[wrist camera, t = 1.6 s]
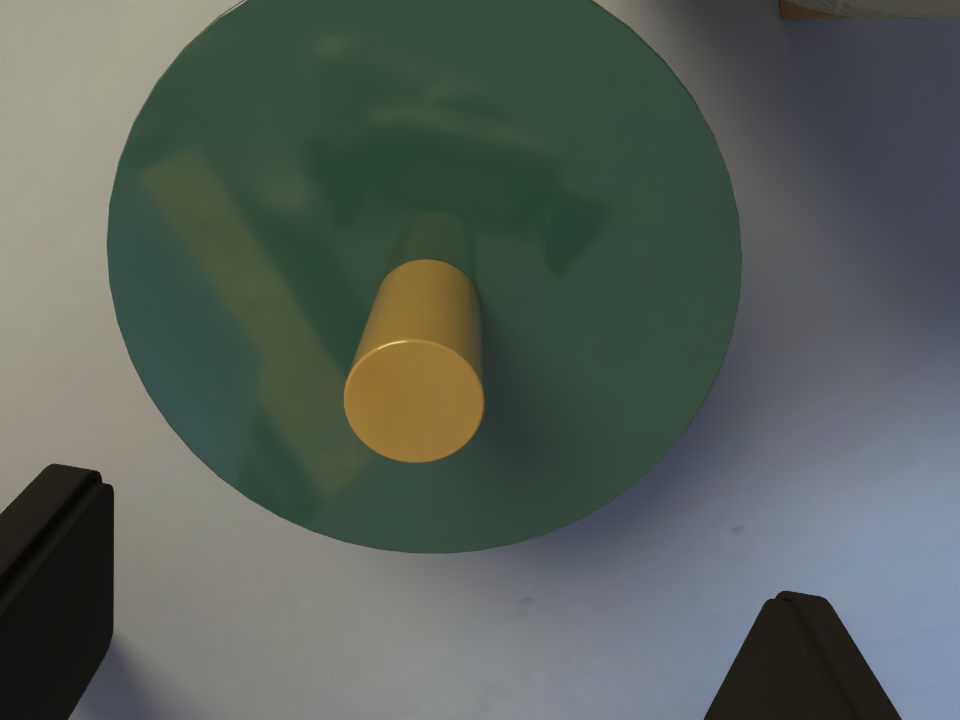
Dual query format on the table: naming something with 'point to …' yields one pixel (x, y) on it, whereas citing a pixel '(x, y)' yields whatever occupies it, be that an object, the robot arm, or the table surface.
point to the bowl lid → (424, 263)
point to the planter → (869, 8)
